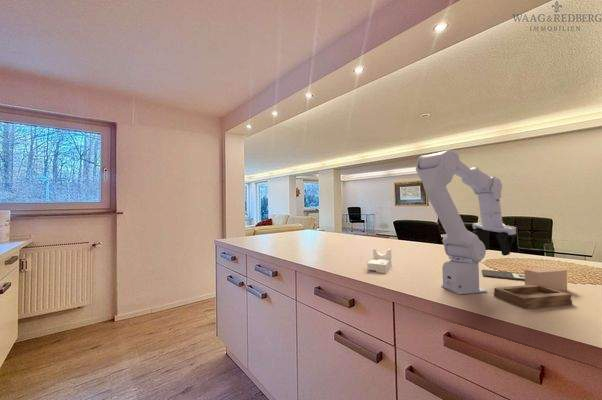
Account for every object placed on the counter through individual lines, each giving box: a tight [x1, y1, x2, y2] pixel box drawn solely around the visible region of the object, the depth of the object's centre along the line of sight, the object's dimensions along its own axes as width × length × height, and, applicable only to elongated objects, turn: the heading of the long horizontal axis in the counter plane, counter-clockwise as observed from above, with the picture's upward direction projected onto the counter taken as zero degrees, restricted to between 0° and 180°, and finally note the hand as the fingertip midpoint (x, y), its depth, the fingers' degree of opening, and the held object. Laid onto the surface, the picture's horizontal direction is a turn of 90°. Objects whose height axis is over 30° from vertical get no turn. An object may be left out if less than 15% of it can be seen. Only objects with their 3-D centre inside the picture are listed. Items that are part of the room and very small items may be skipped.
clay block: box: [523, 267, 568, 292], centre depth 79 cm, size 10×4×6 cm, turn 98°
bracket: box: [366, 247, 393, 274], centre depth 108 cm, size 13×7×8 cm, turn 151°
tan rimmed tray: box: [493, 284, 573, 310], centre depth 70 cm, size 14×9×2 cm, turn 98°
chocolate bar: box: [481, 269, 525, 282], centre depth 92 cm, size 9×1×18 cm
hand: (495, 252), depth 87 cm, fingers open, 7 cm apart
